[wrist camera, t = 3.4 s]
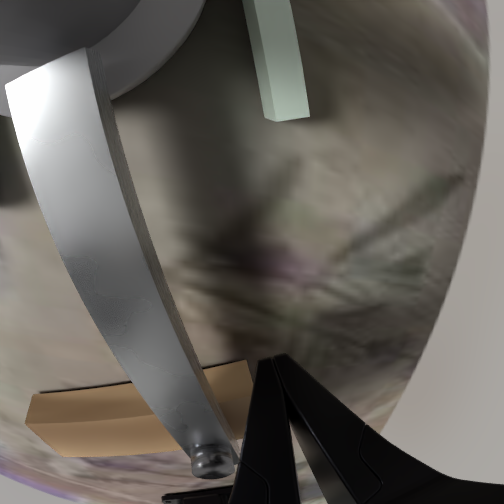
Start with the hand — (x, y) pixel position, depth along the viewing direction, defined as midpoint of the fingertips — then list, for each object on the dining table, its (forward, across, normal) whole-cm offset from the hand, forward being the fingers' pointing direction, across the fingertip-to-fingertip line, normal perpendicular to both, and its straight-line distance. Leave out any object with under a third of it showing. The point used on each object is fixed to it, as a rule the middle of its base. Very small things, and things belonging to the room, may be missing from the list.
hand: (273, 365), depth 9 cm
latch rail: (+2, +6, +4) cm, 7 cm away
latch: (0, +3, -2) cm, 3 cm away
